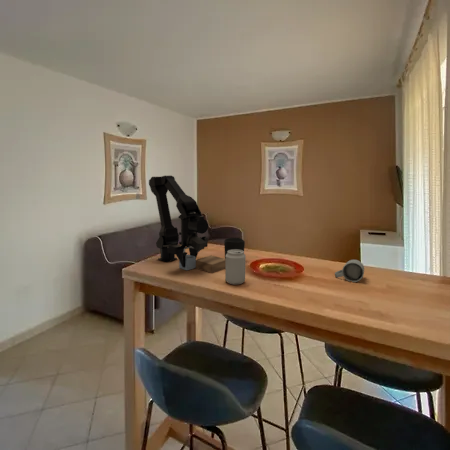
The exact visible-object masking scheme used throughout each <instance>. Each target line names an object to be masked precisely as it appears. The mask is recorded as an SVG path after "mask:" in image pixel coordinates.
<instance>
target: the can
mask: <svg viewBox="0 0 450 450" xmlns="http://www.w3.org/2000/svg"><path fill="white" fill-rule="evenodd" d="M227 252H228V253H227V254H226V267H225V269H224V271H225V273H224V274H225V276H224V277H225V282H227V284H230V285H236V286H237V285H241V284H243V283H244V282H245V281H246V262H247V261H246V259H247V258H246V257H247V256H246V254H245V250H244V251H242V250H235V249H234V250H228V251H227Z"/></svg>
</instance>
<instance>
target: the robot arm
mask: <svg viewBox="0 0 450 450" xmlns="http://www.w3.org/2000/svg"><path fill="white" fill-rule="evenodd" d="M148 185H149V188H150V191H151V193H152V194H153V195H154V196H155V199H156V204H157V209H158V215H159V220H160V229H159V231H158V239H157V240H156V244H155V245H156V248H157V249H159V250H160V251H159V252H160V257H159V258H157V261H162V262H166V263H168V262H172V261H175V260H177V259H178V262H179V261H180V263H181V265H182V267H185V256H186V255H188V252H186V250H188V251H189V255H192V256H195V257H196V258H197V256H198V254H199V252H201V251H202V250H204V249H205V248H207V247H208V242H209V241H208V240H209V239H208V236H205V235H204V236H198V234H201V235H203V234H205V233H207V232H208V230H209V223H208V221H207V220H206V219H205V216H203V215H202V212H201V209H200V208H199V205H198V203H197V201H196V200H195V199H194V198H193V197H191V196H190V195H187V194H186V192H184V190H183V189H182V188H181V186H180V185H179V184H178V182H177V181H176V177H175V176H173V175H162V176H152V177H150V179H149V180H148ZM168 192H169V193H170V194H171V196H172V197H173V199H174V200H175V203H176V206H175V207H176V209H177V211H178V212H179V215H178V217H177V218H178V219H180V231H179V229H178V228H177V227H176V226H174V225H173V222H172V218H171V217H172V216H171V212H170V207H169V201H168V198H167V197H168V196H167V194H168ZM178 231H179V232H178ZM180 238H181V239H180ZM179 240H180V241H179Z"/></svg>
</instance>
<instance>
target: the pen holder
mask: <svg viewBox="0 0 450 450" xmlns="http://www.w3.org/2000/svg"><path fill="white" fill-rule="evenodd" d="M223 243H224V259H226V254H227V253H228V252H227V251H228V250H234V249H235V250H242V251H244V252H245V246H246V245H245V244H246V242H245V240H244V239H243V238H241V237H227V238H225V239H224V241H223Z"/></svg>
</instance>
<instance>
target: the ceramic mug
mask: <svg viewBox="0 0 450 450" xmlns="http://www.w3.org/2000/svg"><path fill="white" fill-rule="evenodd" d="M364 274H365V266H364V264H363V263H362V261H360V260H358V259H350V260H348V261H347V262H345V264H344V266H343V267H342V268H341V269H340V270H337V271H335V272H334V276H335V277H336V278H342V277H343V278H344V279H345V280H346V281H347V282H350V281H352V282H351V283H357V282H360V281H361V280H362V279H363V278H364Z"/></svg>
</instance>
